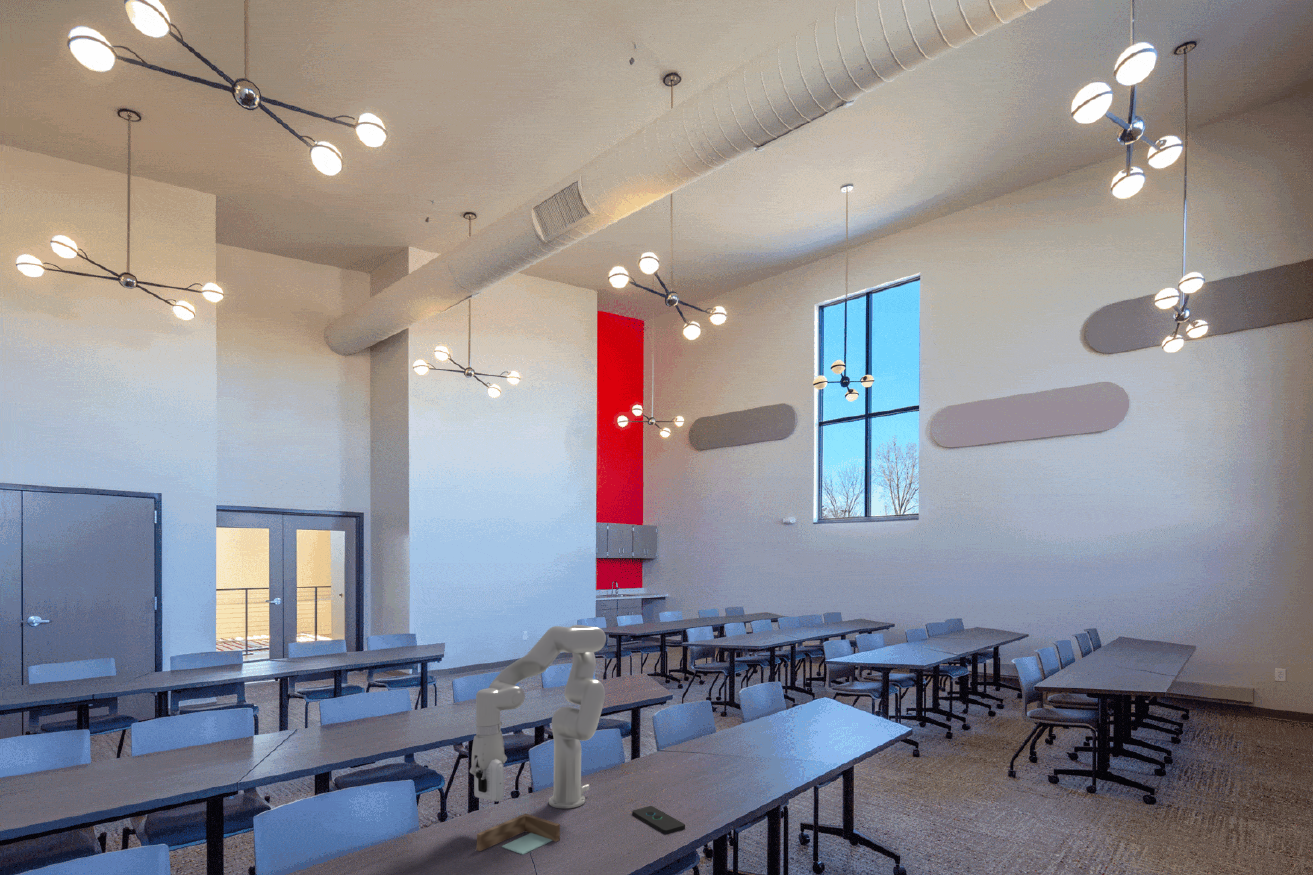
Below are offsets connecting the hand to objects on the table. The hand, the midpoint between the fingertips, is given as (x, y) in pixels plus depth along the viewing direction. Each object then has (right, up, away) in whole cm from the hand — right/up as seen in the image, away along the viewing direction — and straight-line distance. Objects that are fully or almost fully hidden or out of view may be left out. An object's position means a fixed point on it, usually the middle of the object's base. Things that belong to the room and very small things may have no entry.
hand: (489, 787), depth 227 cm
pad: (+14, -11, -12) cm, 22 cm away
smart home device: (+54, -14, +5) cm, 56 cm away
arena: (+12, -11, -13) cm, 21 cm away
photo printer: (0, -3, 0) cm, 3 cm away
